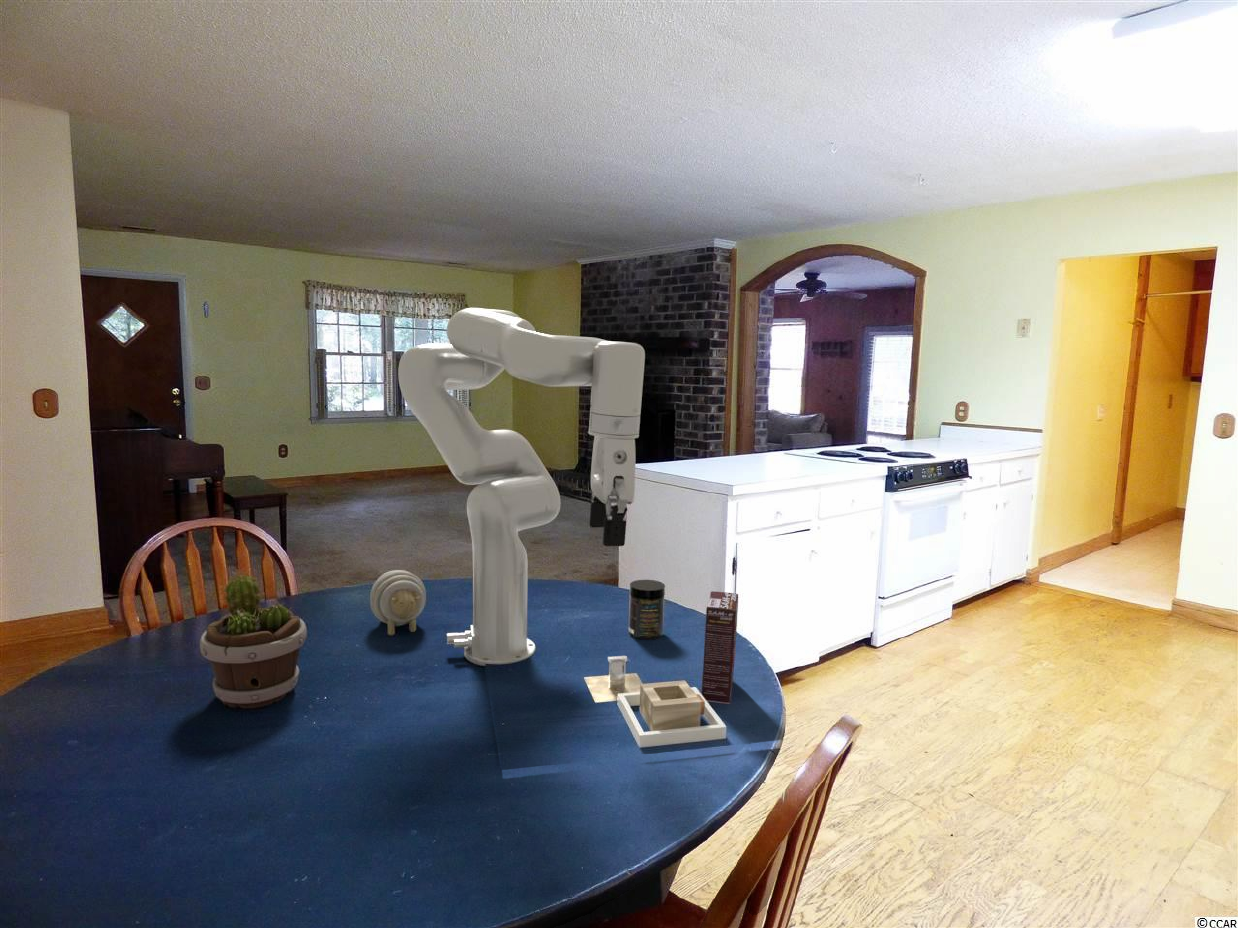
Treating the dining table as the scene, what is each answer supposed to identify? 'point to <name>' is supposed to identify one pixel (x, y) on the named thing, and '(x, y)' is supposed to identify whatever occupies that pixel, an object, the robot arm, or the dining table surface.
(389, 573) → the toy sheep
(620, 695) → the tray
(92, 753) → the dining table surface
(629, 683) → the square lid with knob
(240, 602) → the flowerpot
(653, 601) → the supplement container
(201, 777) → the dining table surface
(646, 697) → the collar
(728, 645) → the supplement box
